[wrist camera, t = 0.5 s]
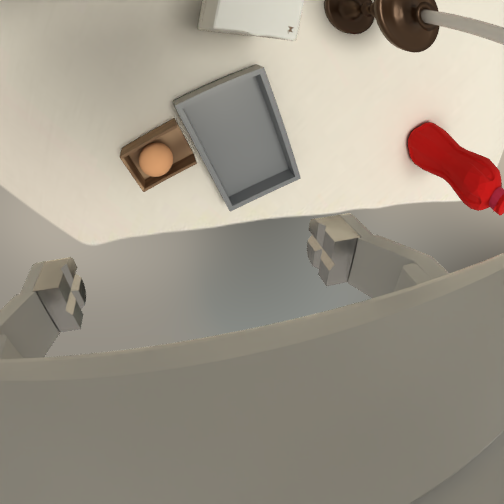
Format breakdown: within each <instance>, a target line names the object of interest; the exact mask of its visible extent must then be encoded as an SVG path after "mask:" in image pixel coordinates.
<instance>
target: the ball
mask: <svg viewBox="0 0 504 504" xmlns="http://www.w3.org/2000/svg"><path fill="white" fill-rule="evenodd" d="M172 163H173V154H172V152H171V150H170V148H169V147H168V146H166V145H165V144H163V143H157V142H156V143H151V144H149V145H147V146H146V147H145V148H144V149H143V150H142V151H141V153H140V156H139V165H140V168H141V169H142V171H143V172H144V173H145V174H147V175H149V176H152V177H158V176H162V175H164V174H165V173H167V172H168V171H169V169H170V168H171V166H172Z"/></svg>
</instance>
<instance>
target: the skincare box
mask: <svg viewBox="0 0 504 504" xmlns="http://www.w3.org/2000/svg"><path fill="white" fill-rule="evenodd" d="M303 4H304V0H202V5H201V10H200V16H199V22H198V30H206V31H214V32H221V33H229V34H239V35H249V36H259V37H267V38H275V39H283V40H290V41H296V38H297V34H298V29H299V24H300V19H301V14H302V9H303Z"/></svg>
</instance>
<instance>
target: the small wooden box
mask: <svg viewBox="0 0 504 504" xmlns="http://www.w3.org/2000/svg"><path fill="white" fill-rule="evenodd" d="M156 142H157V143H163V144H165V145H166V146H168V147H169V148H170V150H171V152H172V154H173V163H172V166H171V168H170V169H169V171H168V172H167V173H165V174H164V175H162V176H158V177H152V176H149V175H147V174H145V173H144V172H143V171H142V169H141V168H140V165H139V156H140V153H141V151H142V150H143V149H144V148H145V147H146V146H147V145H149V144H151V143H156ZM120 158H121V160H122V161H123V163H124V164H125V166H126V167H127V169H128V170H129V172H130V173H131V175H132V176H133V178H134V179H135V180H136V182H137V183H138V185H139V186H140V188H141V189H142V191H143V192H145V191H147V190H148V189H150V188H152V187H154V186H156V185H157V184H159V183H161V182H163V181H165V180H166V179H168V178H170V177H172V176H174V175H176V174H178V173H180V172H181V171H183V170H185V169H187V168H189V167H191V166H193V165H195V164H197V162H196V159H195V156H194V154H193V152H192V150H191V148H190V146H189V144H188V142H187V141H186V139H185V137H184V135H183V133H182V131H181V129H180V128H179V126H178V124H177V122H176V120H175V118H174V119H172V120H170V121H168V122H167V123H165V124H163V125H161V126H159V127H157V128H155V129H154V130H152V131H150V132H148V133H147V134H145V135H143V136H141V137H140V138H138V139H136V140H134V141H133V142H131V143H129V144H128V145H126V146H124V147H123V148H122V150H121V154H120Z"/></svg>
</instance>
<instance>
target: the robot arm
mask: <svg viewBox="0 0 504 504" xmlns="http://www.w3.org/2000/svg"><path fill="white" fill-rule="evenodd" d="M309 231H310V232H311V234H312V236H311V237H310V238H309V239H308V241H307V254H308V258H309V260H310V262H311V264H312V265H313V266H314V267H316V268H318V269H319V273H318V275H319V276H320V277H321V279H322V280H323V282H324V283H325V285H326V286H330V285H335V284H340V283H345V282H348V283H349V284H350V285H352V286H353V287H355V288H357V289H358V290H360V291H362V292H363V293H365V294H366V295H368V296H370V297H371V298H372V299H368V300H365V301H362V302H358V303H354V304H351V305H347V306H343V307H339V308H336V309H332V310H328V311H324V312H320V313H316V314H312V315H308V316H304V317H300V318H295V319H291V320H287V321H283V322H278V323H274V324H270V325H265V326H260V327H255V328H251V329H246V330H241V331H236V332H231V333H226V334H221V335H215V336H210V337H204V338H199V339H193V340H187V341H182V342H175V343H169V344H162V345H155V346H149V347H141V348H134V349H126V350H118V351H109V352H101V353H91V354H80V355H69V356H57V357H45V355H46V353H47V352H48V350H49V349H50V347H51V346H52V344H53V343H54V341H55V340H56V338H57V337H58V335H59V334H60V333H59V332H65V331H72V330H78V329H81V324H82V319H83V313H82V311H81V308H83V306H84V305H85V302H86V290H85V286H84V283H83V280H82V278H81V277H80V276H78V275H77V274H76V270H77V266H76V264H75V262H74V259H73V258H71V257H68V258H62V259H56V260H50V261H43V262H39V263H35V264H33V265H32V268H31V270H30V272H29V274H28V276H27V278H26V281H25V283H24V286H23V288H22V290H21V292H20V294H17V295H16V296H15V297H13V298H12V299H11V300H10V301H9V302H8V303H7V304H6V305H5V306H4V307H3V308H2V309H1V310H0V504H504V253H503V254H500V255H498V256H495V257H493V258H490V259H488V260H485V261H483V262H480V263H477V264H475V265H472V266H469V267H467V268H464V269H461V270H458V271H455V272H453V273H450V274H449V273H448V272H447V271H446V270H445V269H444V268H443V267H442V266H441V265H440V264H439V263H438V262H437V261H436V260H435V259H434V258H433V257H431V256H429V255H427V254H424V253H421V252H419V251H416V250H414V249H412V248H409V247H407V246H405V245H402V244H399V243H397V242H395V241H392V240H389V239H387V238H384V237H381V236H379V235H373V234H372V233H371V232H370V231H369V230H368V229H367V228H366V227H365V226H364V225H363V224H362V223H361V222H360V221H359V220H358V219H357V218H355V217H354V216H353V215H352V214H350V213H346V214H340V215H335V216H328V217H322V218H316V219H311V221H310V223H309Z"/></svg>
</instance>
